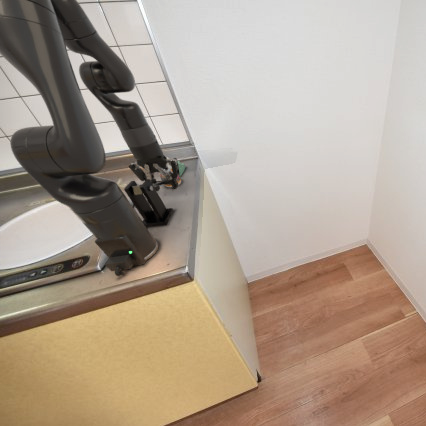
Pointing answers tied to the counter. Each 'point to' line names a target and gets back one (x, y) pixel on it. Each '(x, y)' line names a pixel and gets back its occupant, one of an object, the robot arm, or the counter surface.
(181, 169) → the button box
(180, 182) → the pill bottle
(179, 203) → the counter surface
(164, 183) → the lever
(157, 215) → the bracket
